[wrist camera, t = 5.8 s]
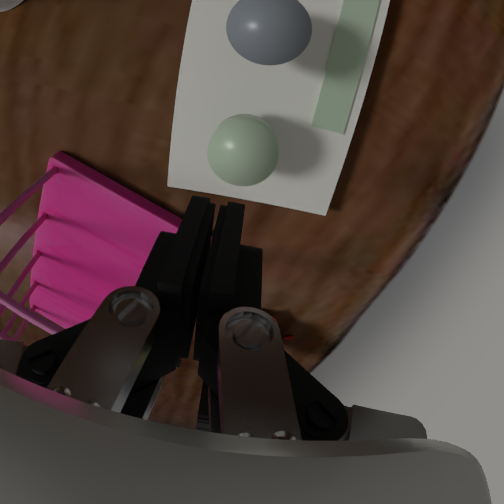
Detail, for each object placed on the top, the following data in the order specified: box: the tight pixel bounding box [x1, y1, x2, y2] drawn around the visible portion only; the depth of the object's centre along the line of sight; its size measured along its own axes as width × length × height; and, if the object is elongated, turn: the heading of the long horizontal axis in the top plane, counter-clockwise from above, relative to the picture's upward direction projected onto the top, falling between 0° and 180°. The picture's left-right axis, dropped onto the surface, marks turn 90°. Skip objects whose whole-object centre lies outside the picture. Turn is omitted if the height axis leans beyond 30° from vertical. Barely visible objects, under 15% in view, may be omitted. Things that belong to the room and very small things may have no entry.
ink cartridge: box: [197, 381, 210, 432], centre depth 42 cm, size 5×2×8 cm, turn 171°
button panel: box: [167, 0, 390, 216], centre depth 17 cm, size 26×13×2 cm, turn 169°
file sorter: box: [0, 151, 213, 341], centre depth 26 cm, size 17×25×16 cm
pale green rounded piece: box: [207, 114, 279, 186], centre depth 20 cm, size 4×4×4 cm
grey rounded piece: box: [226, 0, 312, 65], centre depth 14 cm, size 4×4×4 cm
